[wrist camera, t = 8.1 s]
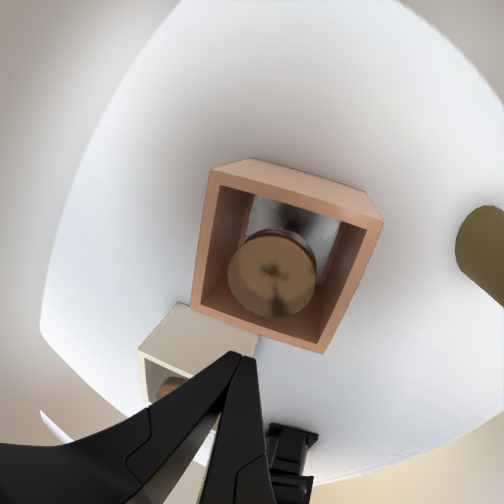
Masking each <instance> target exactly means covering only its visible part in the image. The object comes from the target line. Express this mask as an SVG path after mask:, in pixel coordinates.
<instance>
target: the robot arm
mask: <svg viewBox="0 0 504 504" xmlns="http://www.w3.org/2000/svg"><path fill="white" fill-rule="evenodd" d="M220 413H221V414H220ZM219 415H220V418H219V421H218V425H217V429H216V433H215V436H214V440H213V444H212V448H211V451H210V455H209V459H208V463H207V466H206V470H205V474H204V477H203V481H202V485H201V488H200V492H199V496H198V499H197V503H196V504H309V501H310V496H311V491H312V485H313V479H314V476H302V474H303V470H304V465H305V460H306V455H307V450H308V449H309V448H310V447H311V446H312V445H313V444H314V443H315V442H316V441H317V440H318V437H319V436H318V435H316V434H311V433H307V432H303V431H299V430H295V429H291V428H287V427H283V426H280V425H276V424H270V425H269V426H268V428H267V429H266V431H265V432H264V427H263V418H262V410H261V401H260V392H259V383H258V374H257V365H256V360H255V359H254V358H251V357H249V356H246V355H244V356H242V355H241V354H240V353H237V352H234V351H228V352H227V353H225V354H224V355H222V356H221V357H220V358H218V359H217V360H216V361H214V362H213V363H211V364H210V365H209V366H207V367H206V368H204V369H203V370H201V371H200V372H199V373H197V374H196V375H194V376H193V377H191V378H190V379H188V380H187V381H186V382H184V383H183V384H181V385H180V386H178V387H177V388H175V389H174V390H172V391H171V392H169V393H168V394H166V395H165V396H163V397H162V398H160V399H159V400H157V401H155V402H154V403H152V404H151V405H149V406H148V408H147V407H146V408H144V409H143V410H141V411H140V412H138V413H136V414H135V415H133V416H131V417H129V418H128V419H126V420H124V421H122V422H120V423H118V424H116V425H114V426H111V427H109V428H107V429H105V430H102V431H100V432H97V433H95V434H92V435H90V436H87V437H84V438H82V439H79V440H76V441H74V442H71V443H67V444H63V445H58V446H31V445H16V444H6V443H0V504H163V502H164V501H165V500H166V498H167V497H168V495H169V494H170V492H171V491H172V489H173V488H174V487H175V485H176V484H177V482H178V481H179V479H180V478H181V476H182V475H183V473H184V472H185V470H186V468H187V467H188V465H189V464H190V462H191V461H192V459H193V458H194V456H195V455H196V453H197V451H198V450H199V448H200V447H201V445H202V444H203V442H204V440H205V439H206V437H207V435H208V434H209V432H210V431H211V429H212V427H213V426H214V424H215V422H216V421H217V419H218V417H219Z"/></svg>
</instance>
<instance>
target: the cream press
mask: <svg viewBox="0 0 504 504" xmlns="http://www.w3.org/2000/svg"><path fill="white" fill-rule="evenodd" d="M259 335H260V334H257V333H254V332H251V331H248V330H245V329H242V328H239V327H237V326H234V325H231V324H228V323H226V322H223V321H220V320H218V319H215V318H212V317H210V316H207V315H204V314H202V313H199V312H197V311H194V310H192V309H190V306H187V305H185V304H182V303H180V302H178V303H177V304H176V305H175V306H174V307H173V309H172V310H171V311H170V312H169V313H168V314H167V315H166V316H165V318H164V319H163V320H162V321H161V322H160V323H159V324H158V326H157V327H156V328H155V329H154V330H153V331H152V332H151V334H150V335H149V336H148V337H147V338H146V339H145V340H144V342H143V343H142V344H141V345H140V346H139V347H138V349H137V353H138V363H139V371H140V380H141V387H142V394H143V401H144V402H145V403H147V404H149V405H151V404H152V403H154V402H155V401H157V399H156V393H157V391H158V390H159V388H160V387H161V386H162V384H163V383H164V381H165V380H166V379H167V378H168V377H172V376H174V377H181V378H184V379H186V378H189V379H190V378H191V377H193V376H194V375H196V374H197V373H199V372H200V371H201V370H203V369H204V368H206V367H207V366H209V365H210V364H211V363H213V362H214V361H216V360H217V359H218V358H220V357H221V356H222V355H224V354H225V353H227V352H228V351H234V352H237V353H240V354H241V355H242V356H244V355H246V356H249V357H251V358H252V356H253V353H254V350H255V347H256V344H257V341H258V338H259ZM220 414H221V413H220ZM219 418H220V415H219V417H218V419H217V421H216V422H215V424H214V426H213V427H212V429H211V431H210V432H212V433H214V434H215V433H216V429H217V425H218V421H219Z"/></svg>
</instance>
